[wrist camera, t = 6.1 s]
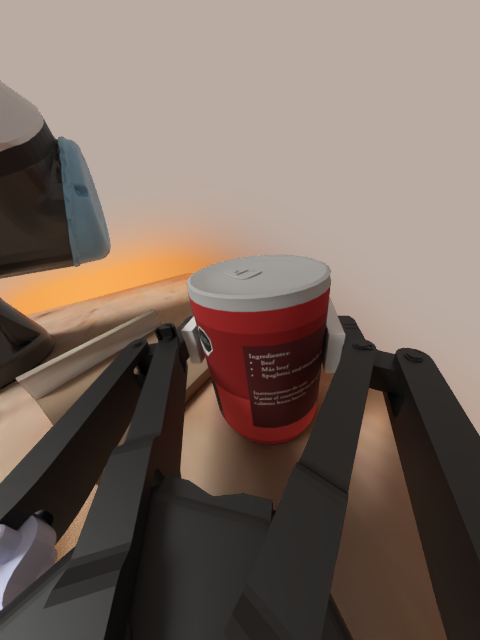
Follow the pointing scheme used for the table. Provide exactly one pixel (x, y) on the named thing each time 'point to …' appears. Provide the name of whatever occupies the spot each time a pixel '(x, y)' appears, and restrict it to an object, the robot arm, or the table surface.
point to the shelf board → (95, 368)
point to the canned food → (263, 340)
